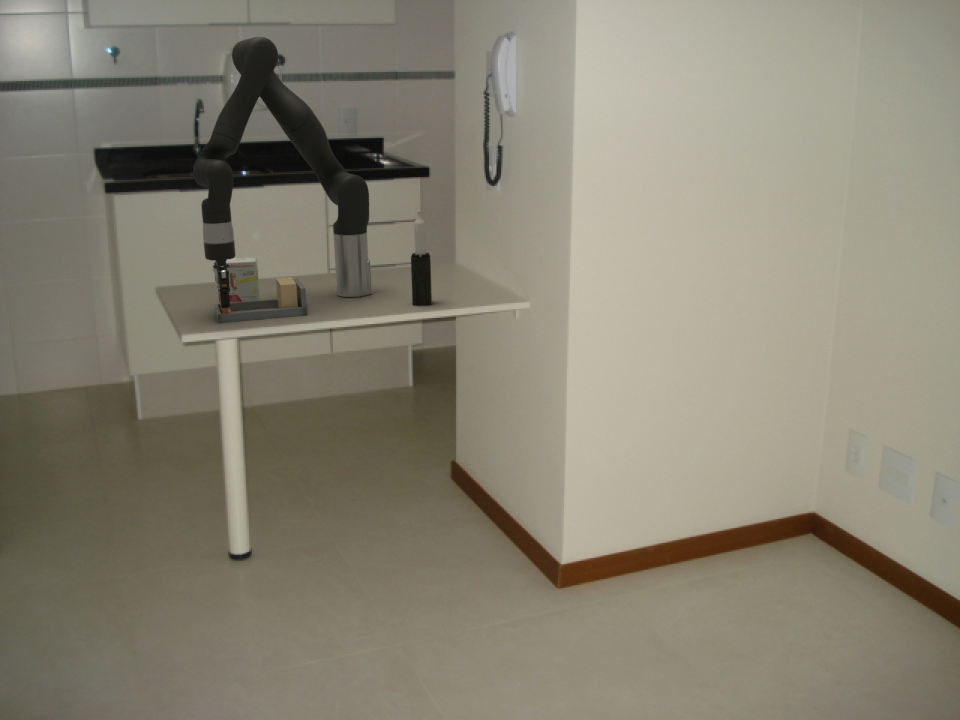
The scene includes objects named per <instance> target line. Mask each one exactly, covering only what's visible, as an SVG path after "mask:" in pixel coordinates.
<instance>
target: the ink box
mask: <svg viewBox="0 0 960 720" xmlns="http://www.w3.org/2000/svg"><path fill="white" fill-rule="evenodd" d="M226 264H229V266H230V273H229V274H230V284H229V286H230V293H229V299H230V303H231V302H242V301H254V300H261V299H260V283H259V268H258V258H256V257H240V258H235V257H234V258H233V259H227V260H226Z"/></svg>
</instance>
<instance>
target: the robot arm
mask: <svg viewBox="0 0 960 720" xmlns="http://www.w3.org/2000/svg"><path fill="white" fill-rule="evenodd" d="M231 57H232V60H231V61H232V62H233V65H234V68H235V69H236V71H237V72H238V73H239V75H240V77H239V80H238V82H237V84H236V86H235V88H234V90H233V92H232V94H231V95H230V97H229V98H228V100H227V102H226V103H225V104H224V105H223V107H222V109H221V110H220V112H219V114H218V117H217V119H216V122H215V125H214V127H213V129H212V132H211V135H210V138H209V140H208V142H207V143H206V144H205V146H204V147H203V149H202V150H201V152H200V153H199V155H198V157H197V158H196V160H195V162H194V164H193V171H192V176H193V179H194V181H195V182H196V184H198V185H199V186H200V187H204V188H208V193H207V198H204V199H203V200H202V201H201V205H200V206H201V217H202V241H203V249H204V258H205V259H206V260H207V261H214V262H213V265H212V269H213V270H212V271H213V274H214V275H213V276H214V282H215V284H216V288H217V292H218V302H219V303H220V300H221V307H222V308H229V307H230V299H229V293H230V286H229V284H230V274H229V273H230V266H229V264H226V260H227V259H233V258H235V257H236V246H235V245H236V244H235V235H234V227H233V223H232V222H233V221H232V210H231V202H232V201H231V200H232V196H233V188H234V172H233V169H232V167H231V165H230V164H229V163H228V162H226V160H227V158H228V157H230V156H232V155H235V154H236V153H237V151H238V149H239V147H240V144H241V141H242V138H243V136H244V133H245V130H246V128H247V125H248V123H249V120H250V117H251V115H252V112H253V110H254V108H255V106H256V104H257V103H258V100H259V98H260V99H261V100H262V102H263V103H264V105H265V106H266V108H267V109H268V111H269V112H270V114H271V115H272V117H273V118H274V119H275V121H276V122H277V123H278V125H279V127H280V128H281V130H282V132H284V134H285V135H286V137H287V138H288V140H289V141H290V142H291V143H292V145H293V146H294V148H295V149H296V150H297V151H298V153H299V154H300V155H301V157H302V158H303V159H304V161H305V162H306V163H307V165H308V166H309V167H310V168H311V170H312V171H313V173H314V174H315V176H316V178H317V180H318V181H319V184H321V185H320V186H321V187H322V189H323V191H324V193H325V194H326V196H327V197H328V199H329V200H330V202H332V204H335V206H337V219H336V220H335V221H334V223H332V230H333V248H334V267H335V268H334V269H335V284H336V286H335V287H336V295H337V296H338V297H344V298H358V297H364V296H369V295H372V293H373V292H372V291H373V290H372V275H371V274H372V273H371V271H372V270H371V260H370V259H369V248H368V247H369V246H368V243H369V242H368V225H369V222H370V192H369V187H368V186H369V185H368V184H367V182H366V180H365V179H363V177H361V176H360V175H357V174H353V173H349V172H348V171H347V170H346V169H345V168H344V166H343V165H342V164H341V163H340V161H339V160H338V158H336V156H335V155H334V153H333V152H334V151H332V149H331V145H330V142H329V138H328V136H327V132H326V130H325V128H324V126H323V125H322V123H321V121H320V120H319V118H318V117H317V115H316V113H314V111H313V109H312V108H311V107H310V106H309V105H308V104H307V103H306V102H305V101H304V100H303V99H302V98H301V97H299V96H298V95H297V94H296V93H295V92H294V91H292V90H291V89H290V88H288V87H287V86H286V85H285V84H284V82H282V80H281V79H280V77H278V75H277V73H276V72H275V69H276V67H277V65H278V61H279V51H278V48H277V46H276V45H275V43H274V42H273V41H272V40H271V39H270V38H267V37H265V36H264V37H263V36H255V37H251V38H246V39H242V40H239V41H238V42H237V43H235V45H233V48H232V51H231ZM225 284H226V285H227V288H222V286H221V285H225ZM219 293H220V295H219Z"/></svg>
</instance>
